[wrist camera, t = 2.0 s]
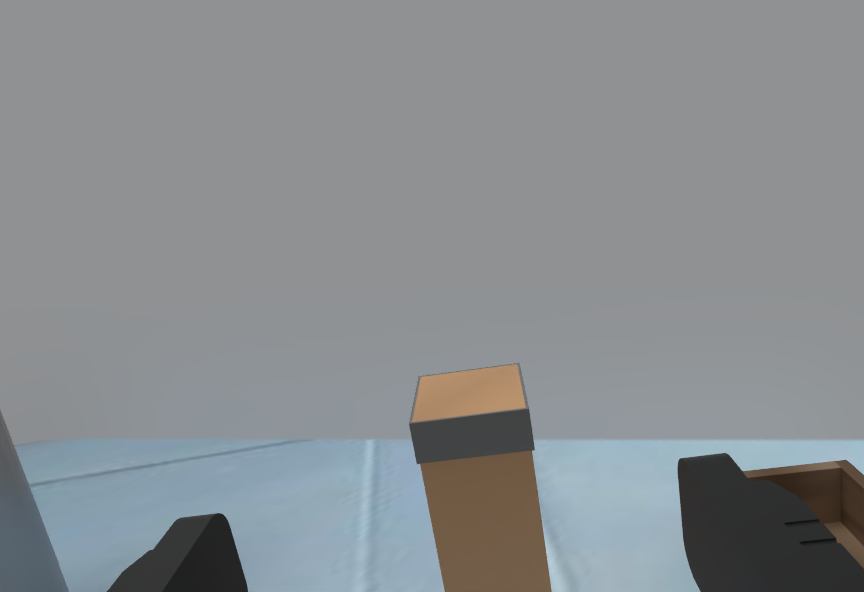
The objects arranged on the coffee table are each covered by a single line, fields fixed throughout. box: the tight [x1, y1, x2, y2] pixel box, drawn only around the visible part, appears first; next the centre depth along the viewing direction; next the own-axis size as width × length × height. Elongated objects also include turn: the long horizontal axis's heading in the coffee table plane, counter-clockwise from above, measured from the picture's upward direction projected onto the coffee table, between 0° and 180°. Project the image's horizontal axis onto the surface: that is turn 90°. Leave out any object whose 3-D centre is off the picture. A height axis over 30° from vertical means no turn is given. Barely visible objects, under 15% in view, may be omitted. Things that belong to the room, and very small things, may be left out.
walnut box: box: [742, 460, 864, 568], centre depth 26 cm, size 8×13×4 cm, turn 176°
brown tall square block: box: [409, 363, 552, 592], centre depth 25 cm, size 4×4×14 cm
